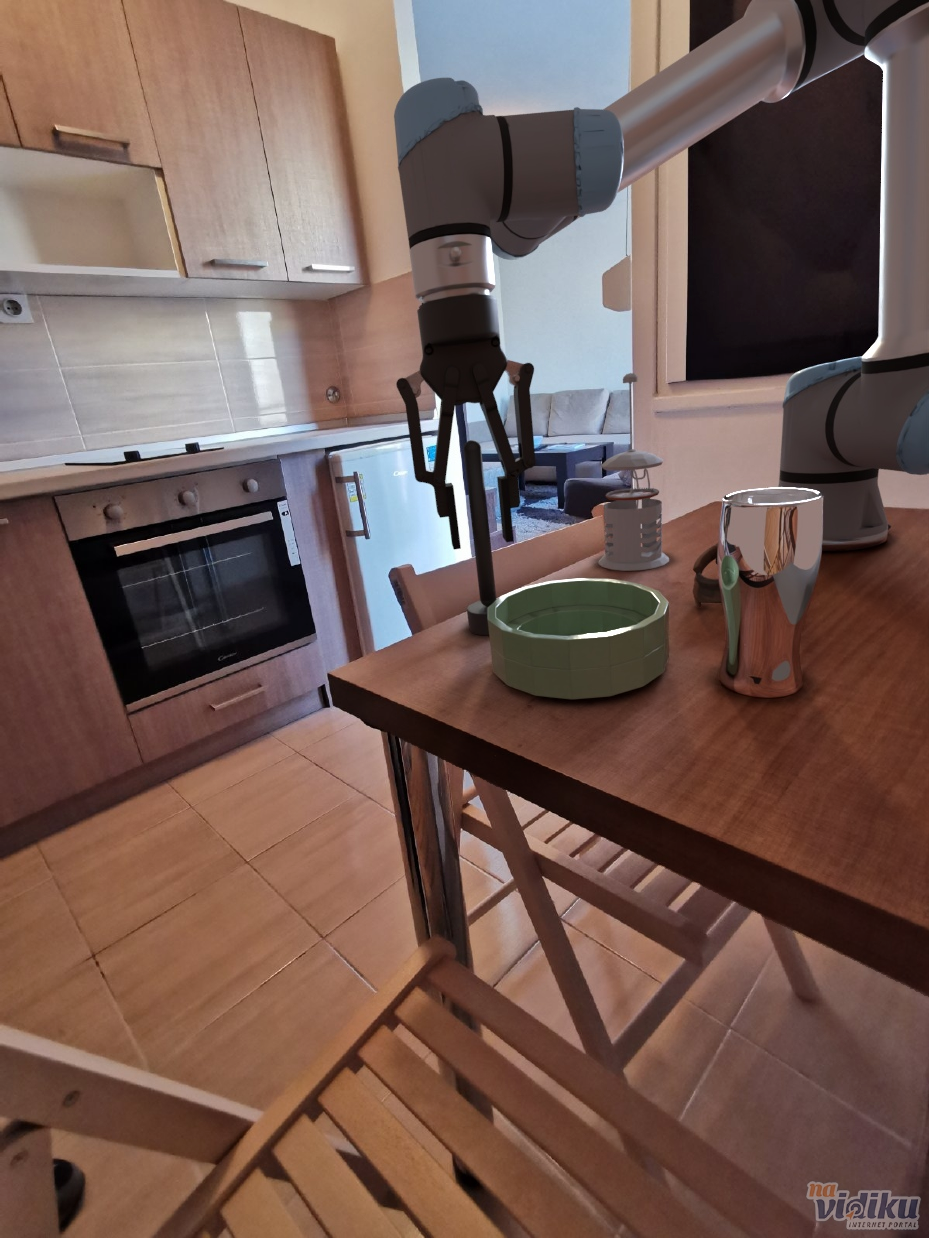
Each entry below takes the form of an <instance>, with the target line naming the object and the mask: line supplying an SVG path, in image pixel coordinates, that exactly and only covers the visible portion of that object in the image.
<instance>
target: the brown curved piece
mask: <svg viewBox="0 0 929 1238" xmlns="http://www.w3.org/2000/svg"><path fill="white" fill-rule="evenodd" d="M717 550H718V542H717V543H715V544H713V545H711V546H710V547H708V548H707V549H706V550H705V551H703V552H702V553H701V554H700V555H699V557H698V558H697V559H696V560H695V562H694V564H693V567H692V570H693V572H694V573H695V576H694V579H693V582H694V583H693V588H692V594H693V598H694V602H695V604H696V606H697V608H699V609H701V608H702V607H703V604H715V605H716V604H720V605H722V601H721V594H720V588H719V579H717V578H708V577H706V576H704V575H703V572H704V570H705V568H707V566H708V565H709V564H710V563H712V562H713V561H714V560H715V564H716V565H717Z"/></svg>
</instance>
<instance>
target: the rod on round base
mask: <svg viewBox="0 0 929 1238" xmlns="http://www.w3.org/2000/svg"><path fill="white" fill-rule="evenodd" d="M463 458H464V468H465V476H466V486H467V487H466V488H467V495H468V503H469V512H470V520H471V521H470V523H471V530H472V540H473V548H474V558H475V566H476V574H477V583H478V592H479V600H477V601H475V602H472V603H471V604H469V605H468V606H467V607H466V613H467V623H468V630H469V631H470V633H472V634H475V635H477V636H478V635H479V636H489V628H488V607H489V606H490V605H491V604H492V603H493V602H495V601H496V600H497V599H498V598H497V590H496V581H495V572H494V571H495V569H494V560H493V552H492V541H491V531H490V522H489V521H490V520H489V512H488V503H487V502H488V501H487V492H486V483H485V482H486V481H485V473H484V463H483V462H484V461H483V454H482V446H481V444H480V442H478V441H477V440H476V439H475V440H474V439H470V440H467V441H466V442H465V443H464V445H463Z"/></svg>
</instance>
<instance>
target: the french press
mask: <svg viewBox="0 0 929 1238" xmlns="http://www.w3.org/2000/svg"><path fill="white" fill-rule="evenodd" d="M638 381H639V380H638V375H637V374H636V373H634V372H629V373H626V374H625V375H624V376H623V378H622V384H628V387H629V391H628V393H629V434H630V435H629V442H630V443H629V444H630V446H629V447H630V448H629V449H628V450H627V451H623V452H621V453H617V454H615V455H612V456H611V457H609V458H607V459H606V460H605V461H604V462H603V463H602V464H601V465H600V467H601V468H602V469H603V470H605V471H612V472H621V471H626V472H627V471H630V488H620V489H615V490H613V491H612V490H611V491H608V492H607V493H606V494H605V498H606V499H608V500H611V501H610V502H607V503H605V504H603V519H604V520H603V525H604V527H603V528H604V531H603V532H604V533H605V534H604V541H605V542H604V555H602V556H601V558H600V559H599V560H598V563H597V564H598V565H599V566H601V567H602V568H605V569H608V570H613V571H622V572H623V571H624V572H625V571H626V572H627V571H628V572H629V571H630V572H631V571H645V570H652V569H656V568H660V567H663V566H665V565H666V564H668V563H669V562H670V558H669V556H668V555H666V554H665V553H664V552H663V550H662V549H663V523H662V521H663V501H661V500H659V499H655V498H654V497H657V496H658V495H659V494H660V489H657V488H654V487H652V488H651V481H650V475H649V470H648V469H651V468H656V467H657V468H658V467H659V466H661V465H662V464H663V462H664V459H663V458H661V457H660V456H658V455H657V454H654V453H651V452H648V451H643V450H636V449H634V448H633V425H632V423H633V422H632V421H633V419H632V384H633V383H638ZM637 470H643V475H642V476H640V477H638V474H637ZM645 478H647V484H648V485H647V487H643V488H641V487H640V486H639V480H644V479H645ZM633 480H635V482H636V487H633V486H634V483H633ZM639 501H641V508H639ZM605 524H606V525H605Z"/></svg>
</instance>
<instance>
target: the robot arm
mask: <svg viewBox="0 0 929 1238" xmlns="http://www.w3.org/2000/svg"><path fill="white" fill-rule="evenodd" d="M861 56H864V57H865V58H866V59H867V60H869V61H870V62H873V63H874V64H876V65H878V66H879V67H880V68H881V70H882V71H883V73H882V74H883V77H882V78H883V79H882V81H883V82H882V124H881V125H882V126H881V128H882V129H881V132H882V133H881V177H880V178H881V180H880V182H881V183H880V226H879V227H880V229H879V230H880V231H879V232H880V233H879V284H878V285H879V288H878V331H877V333H878V336H877V338H876V339H875V342H874V343H873V344H872V345H871V346H870V348H869V349H868V350H867V351H866V352H865V353H864V354H863V355H862V356H856V357H850V358H845V359H844V358H843V359H840V360H836V361H832V362H825V363H821V364H817V365H813V366H809V367H807V368H803V369H801V370H799V371H796V372H795V373H793V374H792V375H791V376H790V377H789V379H788V380H787V382H786V384H785V385H786V386H785V393H784V397H783V401H782V405H781V407H782V409H783V411H782V428H781V429H782V430H781V446H780V461H779V478H778V485H777V488H801V489H810V490H816V491H819V492H821V493H823V494H824V497H823V541H822V552H842V551H843V552H845V551H853V550H855V551H856V550H862V549H868V548H873V547H876V546H879V545H881V544H883V543H886V541H887V539H888V532H889V530H890V529H891V528H892V525H891V524H889V523H888V519H887V514H886V511H885V510H886V509H885V507H884V503H883V499H882V494H881V491H880V488H879V472H880V470H886V471H894V472H901V473H907V474H909V475H914V476H915V475H918V476H926V475H929V0H751V1H750V3H749V4H748V6H747V7H746V10H745V11H744V15H743V16H742V17H741V18H739V19H738V20H736V21H734V23H732V24H731V25H728V26H727V27H726V28H724V29H723V30H722V31H720V32H719V33H717V34H715V35H714V36H712V37H711V38H709V39H708V40H706V41H705V42H703V43H702V44H699V46H697V47H695V48H694V49H693V50H691V51H690V52H688V53H686V54H685V55H684V56H682V57H680V58H679V59H678V60H676V61H674V62H672V63H671V64H669V65H668V66H667V67H665V68H664V69H662V70H661V71H659V72H658V73H655V74H654V75H653V76H651V77H650V78H649V79H647V80H645V81H644V82H642V83H641V84H639V85H637V86H636V87H634V88H633V89H632V90H630V91H629V92H627V93H626V94H624V95H623V96H621V97H620V98H618V99H616V100H615V101H614V102H612V103H611V104H609V105H608V106H606V107H605V108H603V109H597V108H595V109H594V108H580V107H579V106H576V107H574V108H573V109H566V110H554V111H544V112H543V111H542V112H541V111H540V112H532V113H520V114H518V113H517V114H507V115H495V114H484V110H483V107H482V105H481V102H480V97H479V92H478V91H477V89H476V87H474V86H473V84H471V83H469V82H468V81H467V80H462V79H461V80H455V79H454V78H452V77H436V78H431V79H427V80H424V81H421V82H419V83H416V84H414V85H413V86H411V87H409V88H408V89H407V90H405V92H403V94H402V95H401V97H400V98H399V99H398V101H397V103H396V105H395V109H394V112H393V113H394V114H393V121H394V130H395V143H396V154H397V171H398V176H399V183H400V191H401V197H402V203H403V205H402V206H403V211H404V219H405V225H406V226H405V227H406V233H407V241H408V248H409V258H410V264H411V267H410V268H411V273H412V281H413V290H414V297H415V298H416V299H417V300H418V301H419V302H421V304H420V305H419V306H418V309H416V311H417V312H416V313H417V319H418V321H417V322H418V328H419V329H418V330H419V336H420V337H419V338H420V344H421V351H422V359H421V362H420V365H419V370H417V371H415V372H413V373H412V374H409V375H408V376H405V377H400V378H398V379H397V381H396V388H397V391H398V393H399V395H400V397H401V399H402V401H403V403H404V405H405V412H406V413H405V414H406V420H407V427H408V435H409V443H410V450H411V457H412V465H413V474H414V479H415V480H416V482H418V483H424V484H428V485H430V486H432V487H433V490H434V491H433V492H434V498H435V507H436V513H437V515H438V516H439V518H448V523H449V531H450V540H451V545H452V549H453V550H460V549H462V547H461V539H460V538H461V537H460V531H459V523H458V522H459V521H458V513H457V505H456V498H455V489H454V485H453V483H452V482H446V481H447V473H448V472H447V471H448V462H449V455H450V447H451V439H452V429H453V422H454V421H453V420H454V415H455V407H457V406H462V405H464V404H467V403H469V404H479V406H480V409H481V411H482V413H483V416H484V419H485V422H486V424H487V428H488V430H489V434H490V437H491V440H492V442H493V445H494V448H495V450H496V453H497V456H498V459H499V462H500V465H501V468H502V471H503V474H504V475H501V476H497V477H496V482H497V490H498V501H499V514H500V522H501V535H502V539H504V541H505V542H506V543H513V542H514V540H515V539H514V529H513V517H512V509H515V508H516V509H517V508H519V507H520V504H521V494H520V481H519V479H520V478H519V477H520V475H521V474H522V473H523V472H525V471H526V470H529V469H532V468H533V467H535V465H536V452H535V451H536V450H535V440H534V438H535V437H534V427H533V426H534V425H533V416H532V415H533V413H532V402H531V385H532V381H533V377H534V374H535V367H534V365H533V363H531V362H525V363H522V362H518V361H514V360H510V359H508V357H507V355H506V352H505V351H504V349H503V347H502V343H501V334H500V323H499V321H500V320H499V311H498V300H497V299H496V298H495V297H494V296H493V295H491V293H492V292H493V291H494V289H496V279H495V278H496V277H495V268H494V267H495V266H494V255H495V256H497V257H498V258H500V259H503V260H507V261H515V260H520V259H523V258H524V257H527V256H528V255H531V254H532V253H533V252H535V251H536V250H537V249H538V248H539V246H540V245H541V244H542V243H543V242H545V241H546V240H548V239H550V238H551V237H553V236H555V235H556V234H557V233H559V232H561V231H562V230H564V229H565V228H567V227H568V226H570V225H571V224H572V223H574V222H575V221H576V220H578V219H580V218H583V217H585V216H586V215H590V214H591V215H592V214H596V213H602V212H605V211H606V210H608V208H610V207H611V206H612V204H613V203H614V201H615V200H616V197H617V194H618V193H620V192H621V191H623V190H624V189H626V188H628V187H629V186H630V185H632V184H634V183H636V182H637V181H639V180H640V179H642V178H643V177H644V176H646V175H648V174H649V173H652V172H653V171H654V170H655V169H657V168H659V167H660V166H662V165H664V164H665V163H666V162H668V161H669V160H671V159H673V158H674V157H676V156H677V155H679V154H681V153H682V152H684V151H686V149H688V148H690V147H692V146H694V144H696V143H698V142H699V141H701V140H702V139H704V138H706V137H707V136H708V135H710V134H711V133H714V131H716V130H718V129H720V128H721V127H723V126H724V125H726V124H727V123H728V122H731V121H732V120H734V119H735V118H737V117H738V116H740V115H741V114H742V113H744V112H745V111H747V110H749V109H750V108H752V107H753V106H755V105H757V104H759V102H764V103H769V104H771V103H772V104H773V103H777V102H780V101H782V100H783V99H785V98H786V97H788V96H789V95H791V94H792V93H794V92H795V91H798V90H799V89H801V88H803V87H804V86H806V85H808V84H809V83H811V82H813V81H816V80H817V79H819V78H821V77H823V76H825V75H827V74H828V73H830V72H832V71H834V70H837V69H838V68H840V67H842V66H844V65H846V64H848V63H850V62H852V61H854V60H855V59H858V58H860V57H861ZM493 254H494V255H493ZM504 373H506V374H507V376H508V383H509V384H510V385H511V386H513V405H514V414H515V425H516V438H517V447H518V449H517V451H518V458H515V454H514V452H513V449H512V446H511V443H510V440H509V437H508V435H507V432H506V429H505V425H504V422H503V420H502V416H501V414H500V411H499V407H498V403H497V399H496V397H495V394H494V392H495V390H496V388H497V386H498V384H499V382H500V380H501V379H502V377H503V375H504ZM423 382H425V384H427V386H428V388H430V389H431V390H432V391H433V393H434V394H435V395H436V396H437V397H438V398H439V399H440V405H439V406H440V407H439V418H438V427H437V434H436V436H437V437H436V443H435V452H434V461H433V470H429V469H427V464H426V457H425V449H424V440H423V434H422V427H421V426H422V425H421V417H420V409H419V404H418V400H417V398H419V397H420V396H421V394H422V387H421V386H422V383H423Z"/></svg>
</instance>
